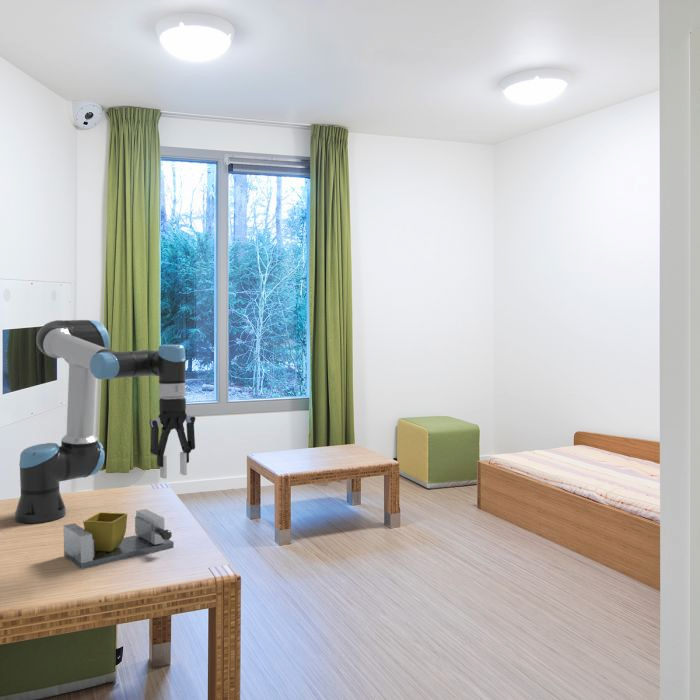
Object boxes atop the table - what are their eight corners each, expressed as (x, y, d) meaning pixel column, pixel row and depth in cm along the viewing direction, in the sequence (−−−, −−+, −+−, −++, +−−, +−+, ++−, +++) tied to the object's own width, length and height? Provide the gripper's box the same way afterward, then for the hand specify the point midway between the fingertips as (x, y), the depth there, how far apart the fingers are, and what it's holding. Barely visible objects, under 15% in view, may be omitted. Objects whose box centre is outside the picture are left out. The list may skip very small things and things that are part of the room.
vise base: (64, 556, 189) (63, 525, 189) (153, 536, 206) (153, 508, 206) (81, 568, 179) (80, 536, 179) (173, 547, 196) (173, 517, 196)
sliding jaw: (134, 535, 201) (134, 511, 201) (146, 532, 204) (145, 509, 204) (161, 550, 188) (161, 525, 188) (174, 547, 190) (173, 522, 190)
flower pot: (82, 553, 187) (82, 520, 186) (99, 543, 195) (99, 511, 195) (112, 555, 185) (112, 522, 185) (128, 544, 194) (128, 513, 193)
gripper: (147, 401, 192) (148, 483, 193) (207, 396, 205) (208, 473, 206) (136, 398, 198) (137, 478, 199) (195, 394, 210) (196, 469, 211)
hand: (173, 475), depth 202 cm, fingers open, 6 cm apart
